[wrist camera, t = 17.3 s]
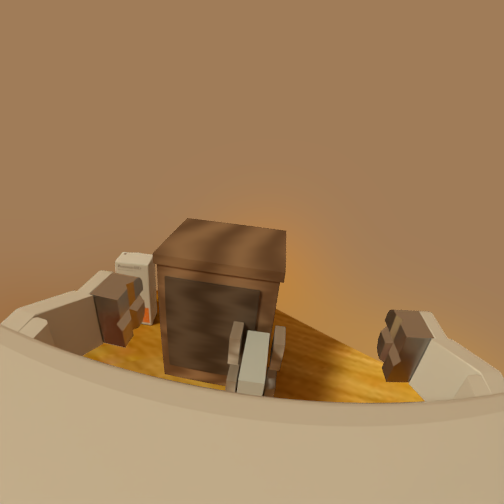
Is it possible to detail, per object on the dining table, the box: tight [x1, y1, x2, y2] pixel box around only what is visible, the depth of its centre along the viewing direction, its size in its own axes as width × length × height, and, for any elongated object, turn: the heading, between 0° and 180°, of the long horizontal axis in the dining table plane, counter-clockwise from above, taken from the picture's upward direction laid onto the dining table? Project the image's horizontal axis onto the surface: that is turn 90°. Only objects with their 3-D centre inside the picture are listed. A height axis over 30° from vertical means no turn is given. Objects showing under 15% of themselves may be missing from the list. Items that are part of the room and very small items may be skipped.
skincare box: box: [115, 252, 157, 325], centre depth 51 cm, size 6×4×12 cm
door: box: [237, 330, 275, 396], centre depth 34 cm, size 4×8×12 cm, turn 174°
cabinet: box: [153, 218, 286, 397], centre depth 42 cm, size 16×17×19 cm
